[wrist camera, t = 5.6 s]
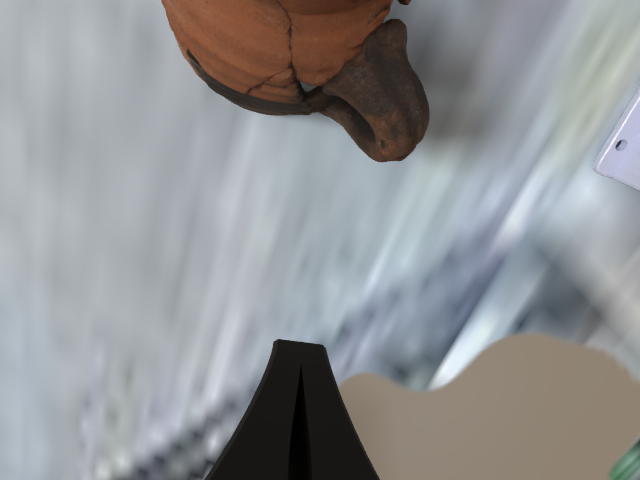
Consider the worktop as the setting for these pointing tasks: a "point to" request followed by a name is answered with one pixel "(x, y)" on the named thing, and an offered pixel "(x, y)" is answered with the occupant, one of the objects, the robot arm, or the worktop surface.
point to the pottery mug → (310, 64)
